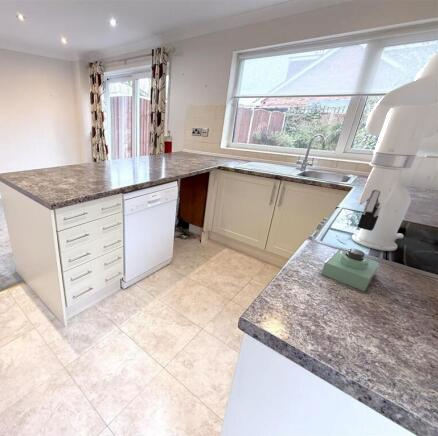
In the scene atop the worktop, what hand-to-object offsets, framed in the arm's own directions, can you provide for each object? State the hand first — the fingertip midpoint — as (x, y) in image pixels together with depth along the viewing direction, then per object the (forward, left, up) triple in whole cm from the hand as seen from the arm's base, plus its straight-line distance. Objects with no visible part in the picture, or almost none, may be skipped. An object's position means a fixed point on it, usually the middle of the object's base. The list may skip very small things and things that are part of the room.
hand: (365, 228), depth 67 cm
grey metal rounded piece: (+1, +1, -9) cm, 9 cm away
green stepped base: (+1, +1, -14) cm, 14 cm away
